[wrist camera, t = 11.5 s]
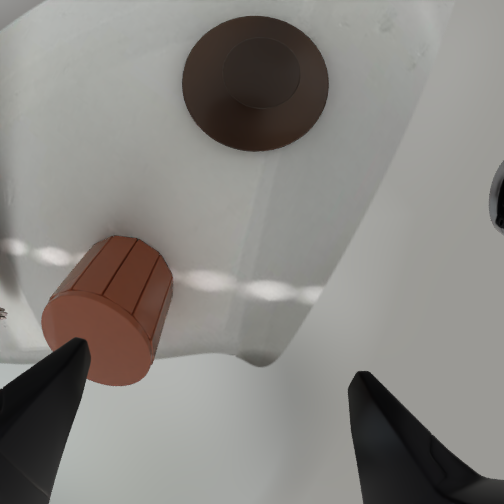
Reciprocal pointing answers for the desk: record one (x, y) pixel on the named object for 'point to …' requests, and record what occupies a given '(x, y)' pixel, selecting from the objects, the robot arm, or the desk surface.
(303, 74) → the holder
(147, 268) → the orange ribbed cylinder
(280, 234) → the desk surface
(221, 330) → the desk surface
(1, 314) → the bird
